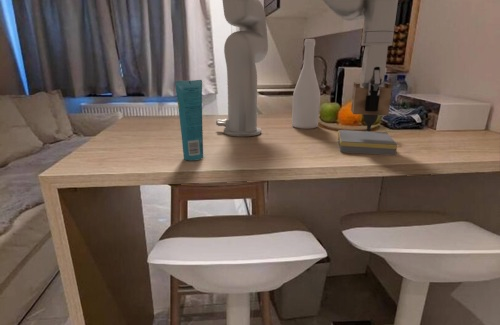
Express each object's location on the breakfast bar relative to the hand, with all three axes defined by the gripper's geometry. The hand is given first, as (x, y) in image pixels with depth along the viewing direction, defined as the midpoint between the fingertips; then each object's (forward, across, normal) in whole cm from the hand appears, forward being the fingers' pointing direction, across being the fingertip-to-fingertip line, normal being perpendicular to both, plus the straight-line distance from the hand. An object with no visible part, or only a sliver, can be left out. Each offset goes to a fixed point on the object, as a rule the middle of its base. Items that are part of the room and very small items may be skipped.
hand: (369, 108), depth 90 cm
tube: (+11, +21, -44) cm, 50 cm away
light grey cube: (-6, 0, 0) cm, 6 cm away
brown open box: (+1, 0, 0) cm, 1 cm away
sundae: (+11, -15, +3) cm, 19 cm away
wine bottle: (+11, -24, -18) cm, 32 cm away
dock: (+11, 0, 0) cm, 11 cm away
